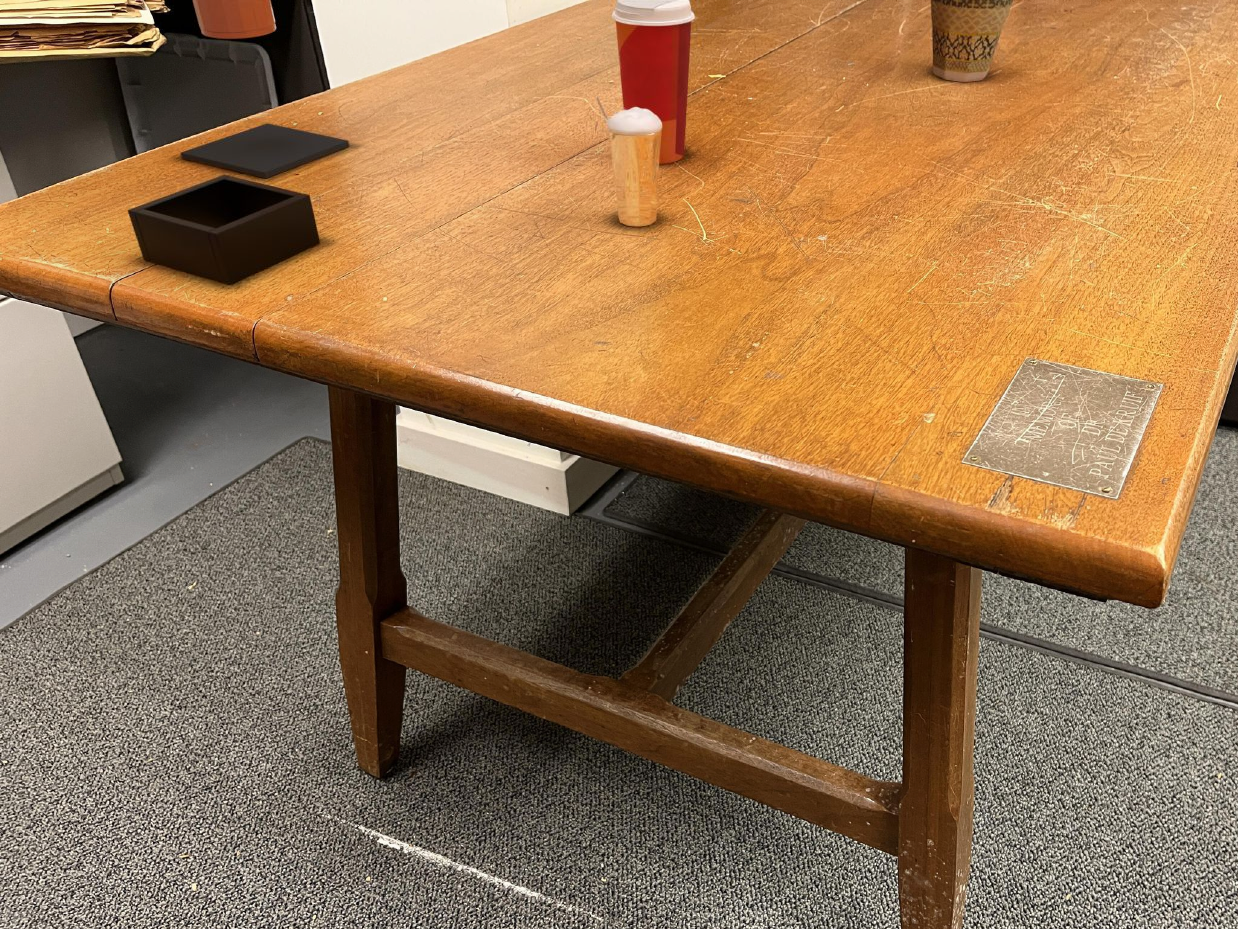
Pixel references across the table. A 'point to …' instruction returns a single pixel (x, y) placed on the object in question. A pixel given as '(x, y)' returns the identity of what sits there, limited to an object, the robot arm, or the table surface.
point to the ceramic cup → (966, 36)
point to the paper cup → (656, 64)
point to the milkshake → (635, 163)
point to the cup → (235, 18)
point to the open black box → (225, 228)
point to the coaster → (265, 150)
